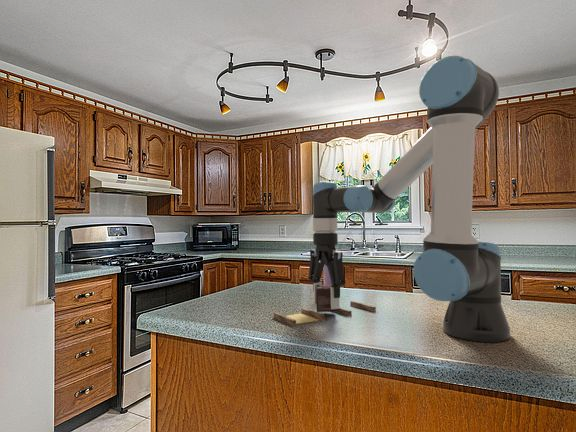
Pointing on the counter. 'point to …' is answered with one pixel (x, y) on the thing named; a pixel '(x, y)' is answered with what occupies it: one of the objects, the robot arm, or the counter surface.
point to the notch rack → (321, 316)
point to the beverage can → (327, 276)
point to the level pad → (302, 318)
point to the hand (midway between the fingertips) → (326, 305)
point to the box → (324, 298)
